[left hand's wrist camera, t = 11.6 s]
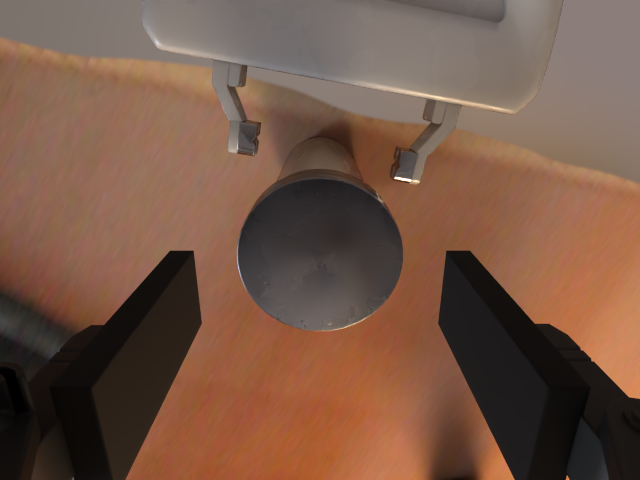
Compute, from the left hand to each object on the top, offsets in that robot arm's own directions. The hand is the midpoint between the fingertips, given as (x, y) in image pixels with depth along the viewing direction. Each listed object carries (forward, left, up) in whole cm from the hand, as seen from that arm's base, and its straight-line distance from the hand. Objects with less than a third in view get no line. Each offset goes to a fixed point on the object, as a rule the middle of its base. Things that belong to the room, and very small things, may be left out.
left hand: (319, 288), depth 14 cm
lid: (0, 0, -3) cm, 3 cm away
